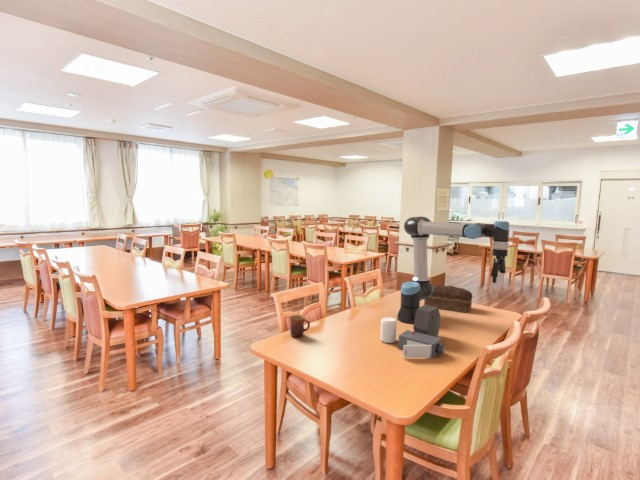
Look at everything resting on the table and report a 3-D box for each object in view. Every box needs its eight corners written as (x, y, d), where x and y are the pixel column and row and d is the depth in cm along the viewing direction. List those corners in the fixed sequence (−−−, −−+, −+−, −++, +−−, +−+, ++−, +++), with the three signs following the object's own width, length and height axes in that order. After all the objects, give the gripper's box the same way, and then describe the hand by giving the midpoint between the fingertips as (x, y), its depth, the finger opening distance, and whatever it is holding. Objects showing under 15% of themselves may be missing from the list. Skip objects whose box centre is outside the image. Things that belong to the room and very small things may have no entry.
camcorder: (398, 348, 181) (398, 333, 180) (407, 342, 189) (407, 328, 188) (440, 360, 168) (440, 344, 167) (447, 353, 176) (448, 338, 175)
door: (404, 359, 168) (404, 345, 168) (403, 357, 170) (403, 344, 170) (432, 359, 169) (433, 345, 168) (431, 357, 171) (431, 344, 170)
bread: (427, 301, 268) (427, 281, 267) (472, 308, 253) (474, 286, 251) (422, 306, 256) (423, 284, 254) (470, 313, 240) (471, 290, 238)
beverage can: (386, 344, 186) (387, 322, 185) (377, 339, 193) (377, 317, 192) (398, 342, 190) (399, 320, 189) (389, 337, 197) (389, 315, 196)
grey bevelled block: (429, 322, 207) (422, 297, 196) (442, 325, 202) (436, 300, 191) (418, 345, 197) (410, 320, 186) (432, 349, 192) (425, 323, 181)
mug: (286, 336, 196) (286, 318, 195) (294, 331, 204) (294, 314, 203) (305, 340, 191) (305, 321, 190) (312, 335, 199) (313, 317, 198)
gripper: (501, 251, 188) (498, 291, 190) (512, 247, 206) (510, 283, 209) (486, 250, 192) (483, 289, 195) (498, 246, 211) (496, 281, 214)
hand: (497, 286), depth 202 cm, fingers open, 13 cm apart
